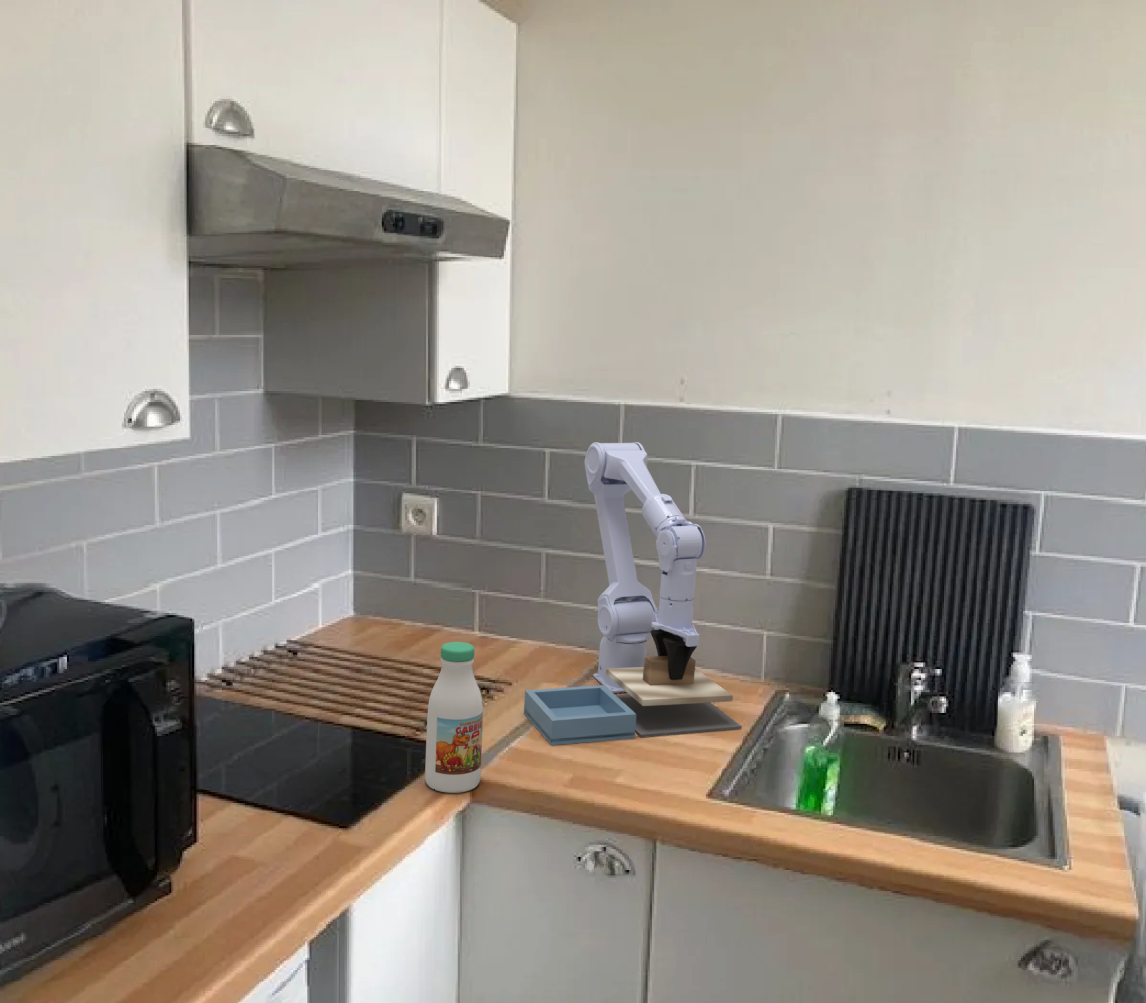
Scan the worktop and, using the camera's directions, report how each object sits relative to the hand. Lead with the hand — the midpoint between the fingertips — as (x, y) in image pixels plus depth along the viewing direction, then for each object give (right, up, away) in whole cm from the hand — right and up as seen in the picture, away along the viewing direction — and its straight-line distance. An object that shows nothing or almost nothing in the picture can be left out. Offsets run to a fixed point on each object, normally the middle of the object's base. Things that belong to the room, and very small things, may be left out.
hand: (671, 675), depth 190 cm
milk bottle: (-33, -11, -31) cm, 47 cm away
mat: (0, -7, +1) cm, 7 cm away
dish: (-16, -7, -6) cm, 18 cm away
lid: (-1, -2, 0) cm, 2 cm away
